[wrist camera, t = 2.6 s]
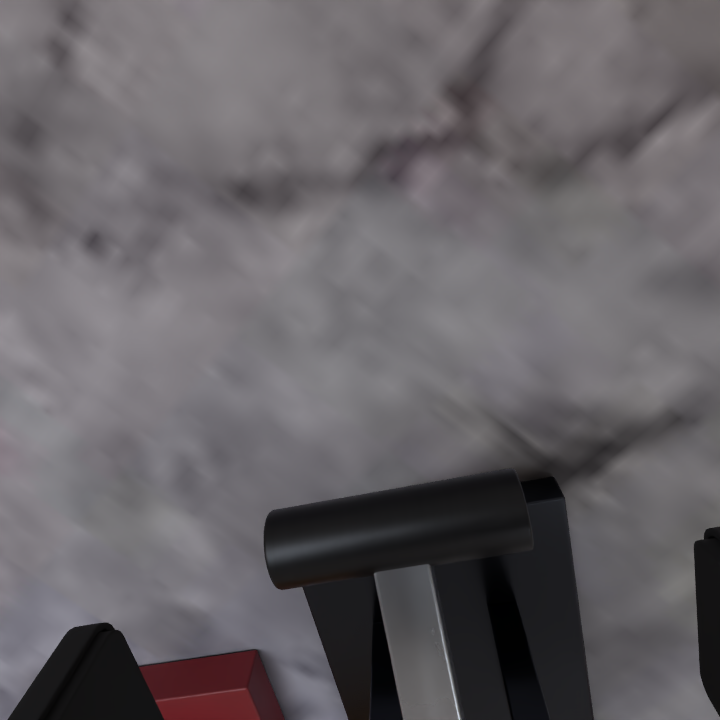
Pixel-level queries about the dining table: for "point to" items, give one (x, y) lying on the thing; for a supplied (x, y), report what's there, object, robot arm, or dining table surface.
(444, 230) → the dining table surface
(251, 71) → the dining table surface
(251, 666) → the button base
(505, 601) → the switch bracket
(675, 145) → the dining table surface
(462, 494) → the switch lever
